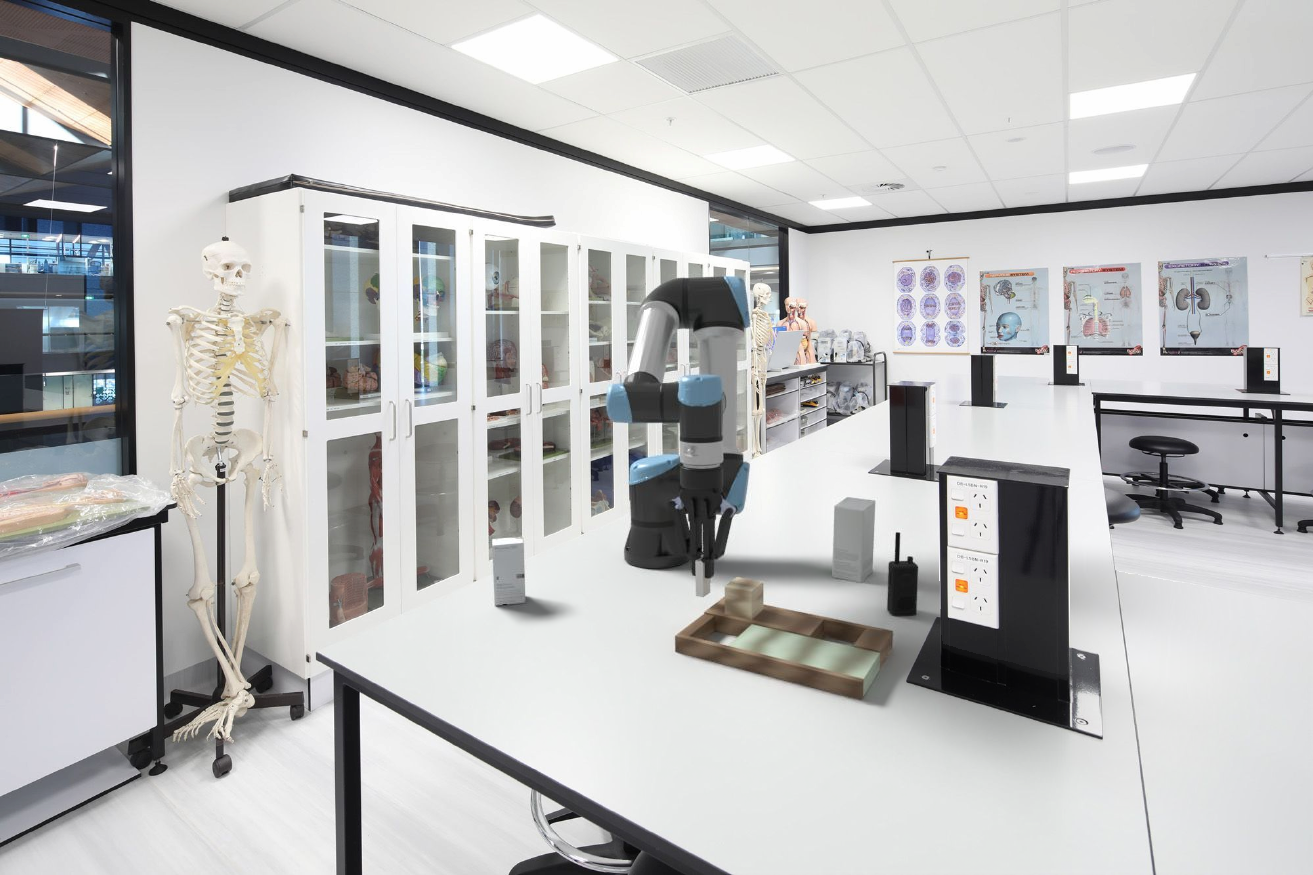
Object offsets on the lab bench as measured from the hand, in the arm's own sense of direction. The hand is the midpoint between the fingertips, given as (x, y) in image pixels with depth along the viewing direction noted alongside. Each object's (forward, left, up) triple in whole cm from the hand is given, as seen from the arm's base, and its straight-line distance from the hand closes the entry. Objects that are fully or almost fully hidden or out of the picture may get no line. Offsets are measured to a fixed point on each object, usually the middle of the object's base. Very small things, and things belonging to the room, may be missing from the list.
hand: (703, 593), depth 123 cm
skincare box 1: (-37, -10, -5) cm, 39 cm away
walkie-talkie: (+30, +20, -5) cm, 36 cm away
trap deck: (+17, -4, -5) cm, 18 cm away
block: (+8, 0, -2) cm, 8 cm away
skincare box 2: (+17, +35, -5) cm, 39 cm away
